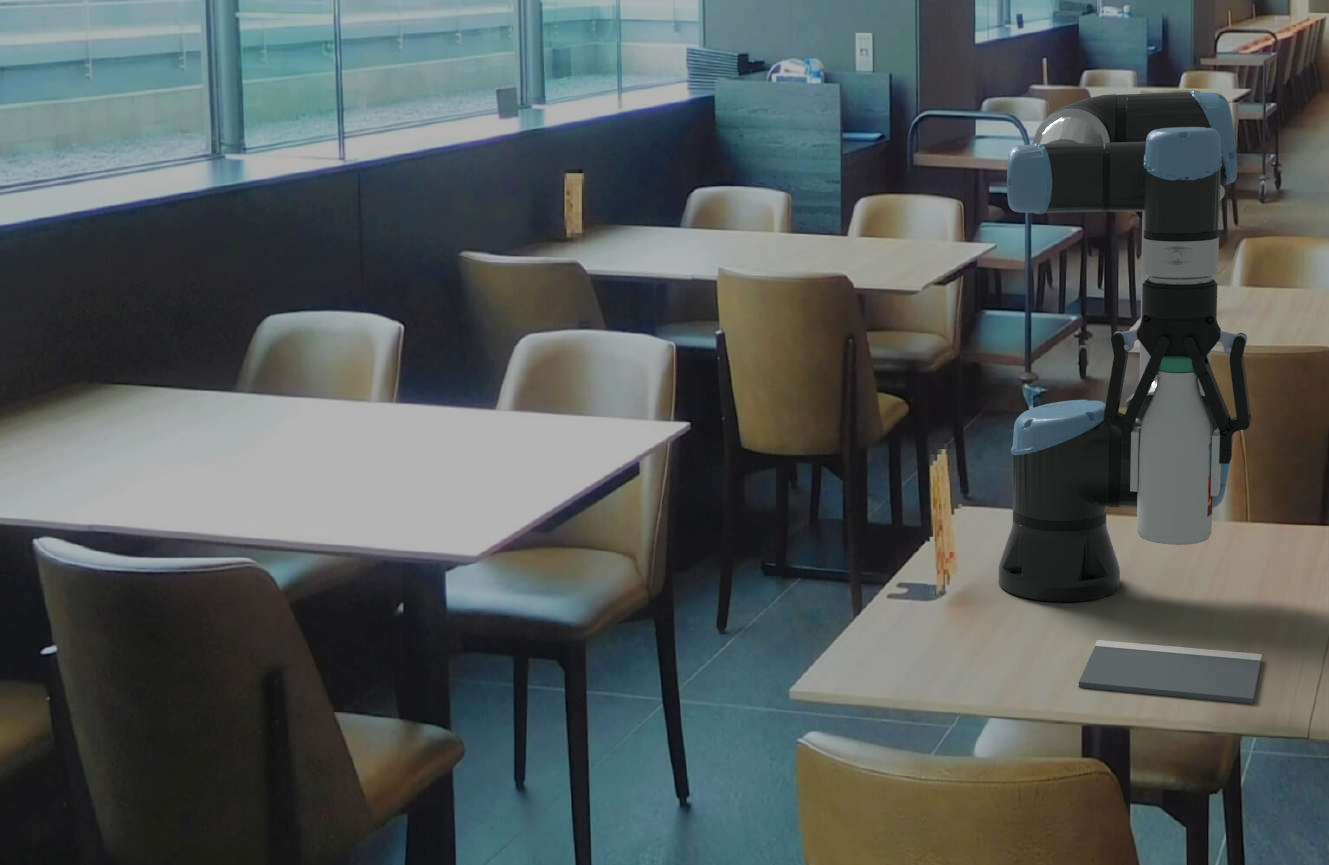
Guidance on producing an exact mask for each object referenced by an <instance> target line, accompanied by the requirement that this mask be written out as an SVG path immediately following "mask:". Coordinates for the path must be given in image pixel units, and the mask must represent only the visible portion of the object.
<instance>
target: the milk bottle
mask: <svg viewBox="0 0 1329 865" xmlns="http://www.w3.org/2000/svg"><path fill="white" fill-rule="evenodd" d="M1156 375H1157V376H1158V380H1157V386H1156V389H1155V392H1154V395H1153V397H1152V400H1151V402H1150V404H1149V406H1148V408H1147V410H1146V412H1145V414H1144V417H1143V420H1142V424H1141V429H1140V438H1139V465H1138V499H1137V508H1136V509H1137V511H1136V512H1137V513H1136V516H1137V517H1136V526H1137V527H1136V528H1137V529H1136V530H1137V534H1138V536H1139V537H1140V538H1142V539H1143V540H1146V541H1147V542H1150V543H1156V544H1161V545H1170V546H1173V545H1174V546H1183V545H1184V546H1185V545H1195V544H1199V543H1203V542H1206V541H1208V540H1209V538H1210V536H1211V534H1212V527H1213V526H1212V524H1213V508H1212V499H1213V496H1210V494H1211V457H1212V435H1213V426H1212V422H1211V418H1210V415H1209V413H1208V410H1207V408H1206V406H1205V403H1204V401H1203V399H1202V396H1201V393H1200V389H1199V384H1198V377H1197V375H1196V373H1195V371H1194V368H1193V366H1192V360H1191V359H1190V358H1189V356H1164V357H1163V358H1162V360H1161V364H1160V366H1159V369H1158V371H1157V373H1156Z"/></svg>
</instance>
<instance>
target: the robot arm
mask: <svg viewBox="0 0 1329 865" xmlns="http://www.w3.org/2000/svg"><path fill="white" fill-rule="evenodd" d="M1236 146H1237V144H1236V134H1235V127H1234V121H1233V115H1232V111H1231V106H1230V104H1229V102H1228V100H1227V99H1226V97H1225V96H1224V95H1222V94H1221V93H1218V92H1209V91H1208V92H1205V91H1203V92H1201V91H1199V92H1198V91H1194V90H1187V91H1185V92H1183V91H1180V92H1157V93H1156V92H1155V93H1154V92H1153V93H1151V92H1150V93H1128V94H1126V93H1125V94H1117V93H1115V94H1112V93H1110V94H1101V95H1096V96H1091V97H1088V98H1083V99H1080V100H1079V101H1075V102H1073V103H1070V104H1068V105H1064V106H1062V107H1060V108H1059V109H1057V110H1055V111H1054V112H1052V113H1051V114H1049V115H1048V116H1047V117H1046V118H1044V120H1043V121H1042V122H1041V123H1040V124H1039V126H1038V128H1037V130H1036V131H1035V134H1034V137H1033V141H1032V143H1031V144H1021V145H1020V144H1019V145H1015V146H1013V147H1012V148H1010V150H1009V152H1008V157H1007V166H1006V167H1007V169H1006V172H1007V173H1006V191H1007V192H1006V194H1007V203H1008V207H1009V208H1010V210H1012V211H1013V212H1016V213H1027V214H1032V213H1033V214H1035V215H1043V214H1046V213H1048V214H1050V213H1055V214H1056V213H1088V212H1089V213H1091V212H1093V213H1094V212H1096V213H1097V212H1103V213H1104V212H1105V213H1107V212H1109V213H1110V212H1112V213H1117V212H1119V213H1120V212H1122V213H1123V212H1130V213H1131V212H1132V213H1133V212H1134V213H1135V212H1142V214H1141V215H1142V216H1141V217H1142V219H1141V274H1140V275H1141V276H1140V278H1141V280H1140V285H1141V286H1140V322H1139V323H1140V324H1139V325H1138V326H1137V329H1131V330H1127V331H1126V330H1125V331H1124V330H1122V329H1118V330H1116V331H1115V332H1114V333H1113V334H1112V336H1111V337H1110V342H1111V343H1110V344H1111V347H1112V352H1113V360H1112V366H1111V370H1110V371H1111V372H1110V377H1109V383H1108V388H1107V394H1106V401H1105V402H1103V401H1102V400H1101V401H1100V400H1089V399H1073V400H1071V399H1070V400H1064V401H1057V402H1050V403H1046V404H1045V403H1044V404H1043V405H1038V406H1035V407H1032V408H1030V409H1028V410H1025V411H1024V412H1022V413H1021V414H1020V415H1018V417H1017V418H1016V419H1015V422H1014V426H1013V435H1012V436H1013V440H1012V447H1011V450H1010V452H1011V455H1012V457H1013V458H1012V460H1013V462H1012V464H1013V466H1012V467H1013V468H1012V471H1013V472H1012V476H1013V477H1012V525H1011V529H1010V532H1009V535H1008V538H1007V540H1006V544H1005V547H1004V549H1003V553H1002V555H1001V558H1000V561H999V564H998V585H999V586H1000V587H1001V589H1002V590H1004V591H1006V592H1007V593H1009V594H1012V595H1014V596H1018V597H1021V598H1026V599H1029V600H1036V601H1042V602H1043V601H1044V602H1045V601H1046V602H1059V603H1060V602H1061V603H1062V602H1063V603H1064V602H1065V603H1067V602H1068V603H1069V602H1084V601H1093V600H1098V599H1100V598H1101V599H1102V598H1104V597H1108V596H1110V595H1111V594H1114V593H1116V592H1117V591H1118V590H1119V588H1120V585H1121V584H1120V583H1121V582H1120V581H1121V570H1120V565H1119V561H1118V559H1117V556H1116V552H1115V550H1114V546H1113V544H1112V540H1111V537H1110V534H1109V531H1108V527H1107V509H1108V508H1120V509H1137V499H1138V465H1139V438H1140V429H1141V424H1142V420H1143V417H1144V414H1145V412H1146V410H1147V408H1148V406H1149V404H1150V402H1151V400H1152V397H1153V395H1154V392H1155V389H1156V386H1157V380H1158V376H1157V375H1156V373H1157V371H1158V369H1159V366H1160V364H1161V360H1162V358H1163V357H1164V356H1189V358H1190V359H1191V360H1192V366H1193V368H1194V371H1195V373H1196V375H1197V377H1198V384H1199V389H1200V393H1201V396H1202V399H1203V401H1204V403H1205V406H1206V408H1207V410H1208V413H1209V415H1210V418H1211V422H1212V426H1213V435H1212V457H1211V494H1210V496H1213V499H1212V509H1214V508H1217V507H1218V506H1219V505H1220V504H1221V503H1222V502H1223V500H1224V498H1225V492H1226V488H1227V482H1228V477H1229V471H1230V464H1231V460H1232V457H1233V443H1234V437H1235V433H1236V432H1240V431H1245V430H1247V429H1249V427H1250V426H1251V422H1252V415H1251V406H1250V398H1249V391H1248V390H1249V389H1248V383H1247V374H1246V365H1245V360H1244V353H1245V349H1246V345H1247V340H1248V337H1247V335H1246V334H1245V333H1244V332H1238V333H1231V332H1228V331H1227V332H1226V331H1222V329H1221V327H1220V325H1219V324H1218V320H1217V315H1218V282H1216V280H1215V279H1213V278H1212V277H1215V276H1216V275H1218V273H1219V272H1218V271H1219V249H1220V248H1219V247H1220V245H1219V244H1220V236H1219V235H1220V234H1219V233H1220V232H1219V231H1220V230H1219V220H1220V219H1219V218H1220V216H1219V215H1220V202H1221V201H1222V199H1223V198H1224V197H1225V194H1226V193H1225V192H1226V187H1225V186H1227V185H1229V184H1232V183H1234V182H1236V179H1237V176H1238V175H1237V174H1238V161H1237V152H1236ZM1136 341H1139V380H1138V381H1139V383H1138V384H1137V387H1136V389H1135V391H1134V393H1133V394H1132V395H1131V396H1130V397H1128V398H1127V399H1126V409H1125V410H1126V411H1125V413H1123V412H1120V405H1121V399H1122V394H1123V387H1124V382H1125V376H1126V371H1127V370H1126V369H1127V364H1128V360H1129V358H1128V357H1129V352H1130V351H1132V350H1133V348H1134V347H1135V342H1136ZM1217 343H1221V344H1222V346H1223V351H1224V353H1225V354H1226V355H1229V368H1230V375H1231V376H1230V379H1231V384H1232V385H1231V386H1232V391H1233V399H1234V401H1233V402H1234V408H1235V416H1236V417H1234V416H1232V415H1231V414H1230V412H1229V410H1228V407H1227V405H1226V403H1225V400H1224V397H1223V395H1222V392H1221V390H1220V387H1219V385H1218V382H1217V380H1216V377H1215V374H1214V373H1213V370H1212V365H1211V364H1212V363H1211V362H1212V360H1211V359H1212V350H1213V348H1214V347H1215V346H1216V345H1217Z"/></svg>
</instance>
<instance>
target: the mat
mask: <svg viewBox="0 0 1329 865" xmlns="http://www.w3.org/2000/svg"><path fill="white" fill-rule="evenodd" d="M1094 644H1095V645H1094V648H1093V650H1092V652H1091V654H1090V656H1089V658H1088V661H1087V663H1086V665H1085V667H1084V670H1083V672H1082V674H1081V676H1080V678H1079V680H1078V688H1085V689H1086V688H1087V689H1095V690H1103V691H1106V690H1107V691H1116V692H1127V693H1136V694H1147V695H1156V696H1157V695H1158V696H1168V697H1176V698H1177V697H1178V698H1188V699H1199V700H1208V701H1221V702H1229V703H1231V702H1232V703H1238V704H1239V703H1240V704H1241V703H1242V704H1249V705H1250V704H1251V705H1253V704H1254V701H1255V695H1256V691H1257V685H1258V682H1259V681H1258V679H1259V675H1260V670H1261V666H1262V660H1263V658H1262V657H1263V655H1262V653H1253V652H1252V653H1250V652H1242V651H1241V652H1240V651H1239V652H1238V651H1230V650H1218V649H1206V648H1197V647H1196V648H1195V647H1193V648H1192V647H1183V646H1172V645H1171V646H1170V645H1162V644H1161V645H1160V644H1159V645H1158V644H1148V643H1137V642H1124V641H1123V642H1122V641H1115V640H1114V641H1111V640H1102V639H1101V640H1100V639H1097V640H1096V642H1095V643H1094Z"/></svg>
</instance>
